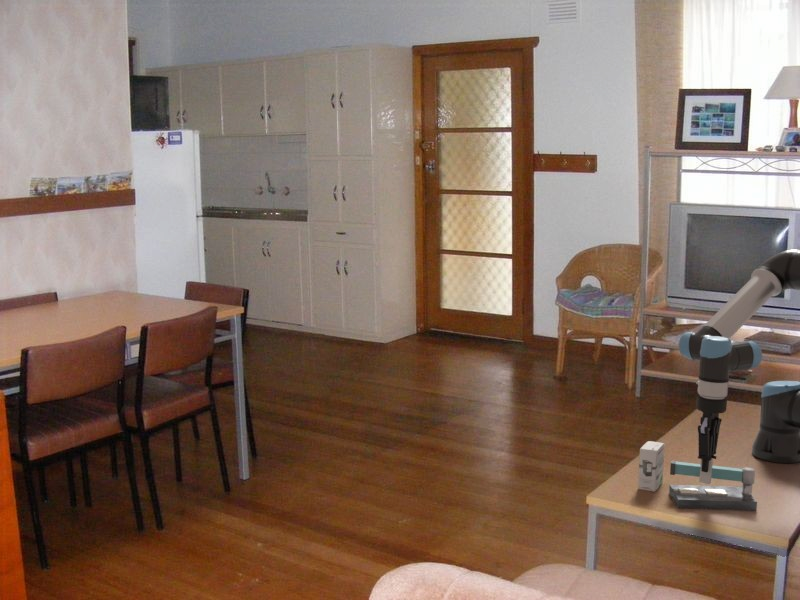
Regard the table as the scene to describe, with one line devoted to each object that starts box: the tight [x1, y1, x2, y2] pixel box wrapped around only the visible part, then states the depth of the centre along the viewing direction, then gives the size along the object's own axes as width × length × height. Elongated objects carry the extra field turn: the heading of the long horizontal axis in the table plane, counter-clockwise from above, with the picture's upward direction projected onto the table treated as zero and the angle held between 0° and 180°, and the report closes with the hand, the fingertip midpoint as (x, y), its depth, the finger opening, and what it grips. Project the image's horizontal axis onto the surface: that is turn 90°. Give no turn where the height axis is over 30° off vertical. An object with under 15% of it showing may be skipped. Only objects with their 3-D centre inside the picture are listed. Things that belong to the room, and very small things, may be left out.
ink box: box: [637, 440, 665, 492], centre depth 262 cm, size 9×5×12 cm, turn 151°
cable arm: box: [669, 459, 756, 485], centre depth 252 cm, size 21×3×4 cm, turn 70°
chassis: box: [668, 483, 758, 512], centre depth 250 cm, size 20×11×5 cm, turn 86°
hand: (705, 482), depth 250 cm, fingers closed
